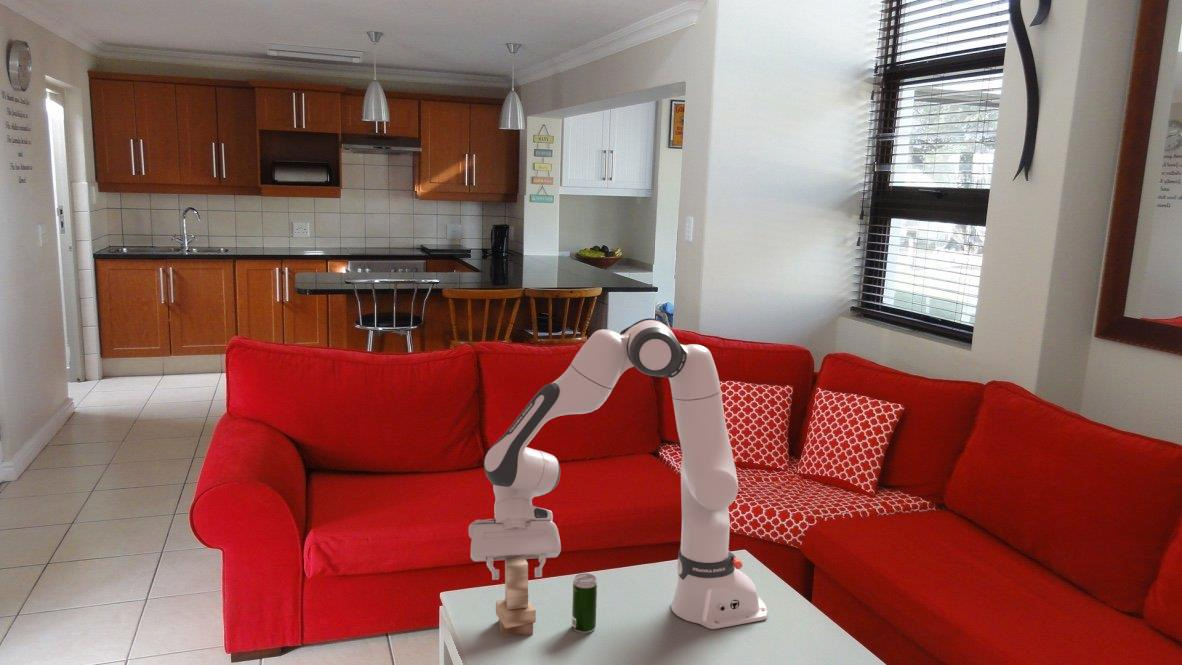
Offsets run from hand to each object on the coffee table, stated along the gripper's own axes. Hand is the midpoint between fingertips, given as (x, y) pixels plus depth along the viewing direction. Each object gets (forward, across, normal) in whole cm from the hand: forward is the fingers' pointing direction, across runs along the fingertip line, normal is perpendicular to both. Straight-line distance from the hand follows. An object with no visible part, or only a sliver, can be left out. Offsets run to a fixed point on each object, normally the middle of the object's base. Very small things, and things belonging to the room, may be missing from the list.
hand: (517, 577), depth 185 cm
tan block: (+4, 0, +5) cm, 7 cm away
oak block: (+7, 0, +7) cm, 10 cm away
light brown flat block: (+8, 0, +10) cm, 13 cm away
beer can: (+10, +15, +8) cm, 20 cm away
